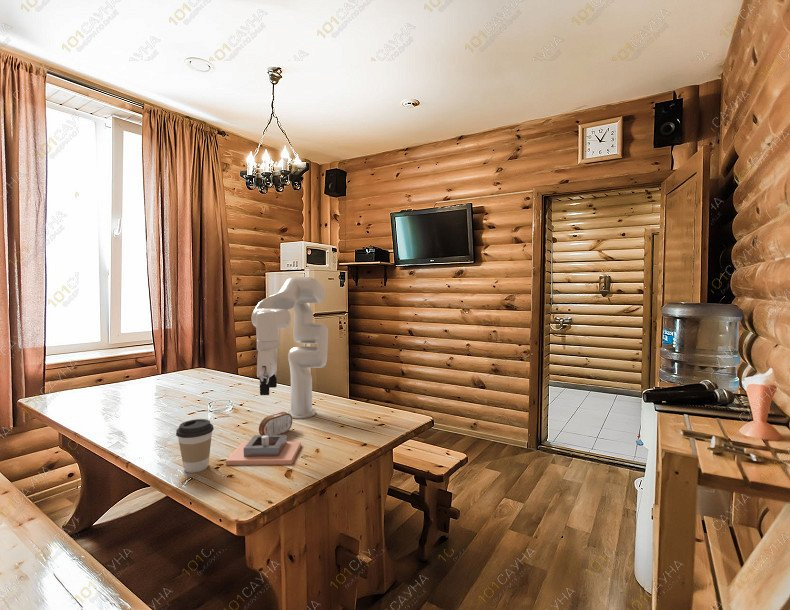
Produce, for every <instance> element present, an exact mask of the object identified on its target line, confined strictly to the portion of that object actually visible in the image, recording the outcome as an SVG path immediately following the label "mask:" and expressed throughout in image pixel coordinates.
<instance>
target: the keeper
mask: <svg viewBox="0 0 790 610" xmlns="http://www.w3.org/2000/svg"><path fill="white" fill-rule="evenodd" d="M248 442H249V441H241V442H240V444H238V446H237V447H236V448H235V449H234V451H233V452H232V453H231V454H230V455H229V456H228V457H227V459H226V460H225V466H233V465H234V466H238V465H240V466H242V465H243V466H249V465H250V466H253V465H254V466H255V465H257V466H258V465H259V466H262V465H269V466H270V465H272V466H273V465H277V466H278V465H292V464H293V462H294V461H295V458H296V456H297V454H298V453H299V450H300V449H301V446H302V441H287V443H286V445H285V447H284V449H283V450H282V452H281V454H280V455H279V456H271V457H244V447H245V446H246V445H247V444H248ZM258 446H274V445H269V436H262V445H258Z"/></svg>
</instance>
